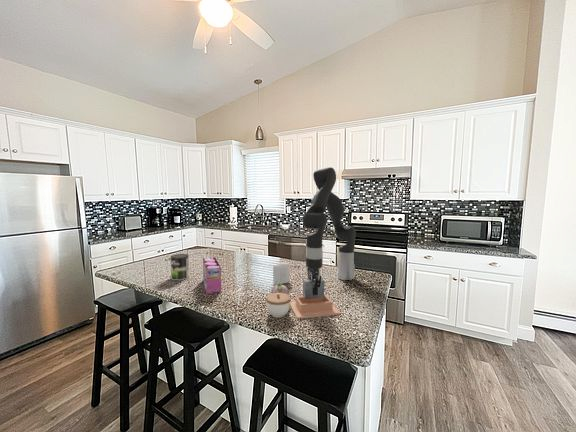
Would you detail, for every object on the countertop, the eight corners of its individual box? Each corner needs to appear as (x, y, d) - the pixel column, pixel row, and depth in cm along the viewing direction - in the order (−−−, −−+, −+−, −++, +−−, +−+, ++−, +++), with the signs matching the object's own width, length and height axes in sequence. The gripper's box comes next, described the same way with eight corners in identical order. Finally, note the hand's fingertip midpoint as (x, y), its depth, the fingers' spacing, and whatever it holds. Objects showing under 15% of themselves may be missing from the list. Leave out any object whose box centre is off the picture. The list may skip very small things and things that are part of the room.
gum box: (202, 279, 158) (202, 257, 156) (216, 278, 161) (215, 256, 159) (206, 293, 136) (205, 268, 134) (221, 291, 139) (221, 267, 137)
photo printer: (286, 280, 157) (286, 260, 155) (290, 282, 153) (290, 262, 152) (272, 283, 151) (272, 263, 150) (275, 286, 147) (275, 264, 146)
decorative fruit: (291, 306, 121) (291, 285, 120) (274, 308, 119) (274, 287, 118) (285, 298, 130) (285, 279, 129) (269, 300, 128) (269, 280, 127)
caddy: (288, 303, 124) (288, 294, 124) (327, 299, 129) (327, 291, 128) (297, 319, 109) (297, 309, 108) (340, 314, 113) (341, 304, 113)
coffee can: (180, 281, 154) (179, 258, 152) (167, 279, 157) (166, 256, 156) (192, 276, 163) (192, 254, 162) (180, 274, 167) (179, 253, 166)
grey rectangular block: (321, 294, 121) (321, 277, 120) (324, 297, 117) (324, 280, 117) (302, 295, 119) (303, 279, 119) (305, 299, 115) (305, 282, 115)
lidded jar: (270, 322, 106) (270, 300, 105) (262, 311, 116) (262, 291, 115) (294, 317, 110) (294, 296, 109) (284, 307, 120) (284, 287, 119)
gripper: (327, 260, 111) (327, 298, 112) (316, 252, 124) (316, 287, 126) (311, 261, 109) (310, 300, 110) (302, 253, 123) (301, 288, 124)
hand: (313, 292), depth 118 cm, fingers closed on grey rectangular block, 4 cm apart
